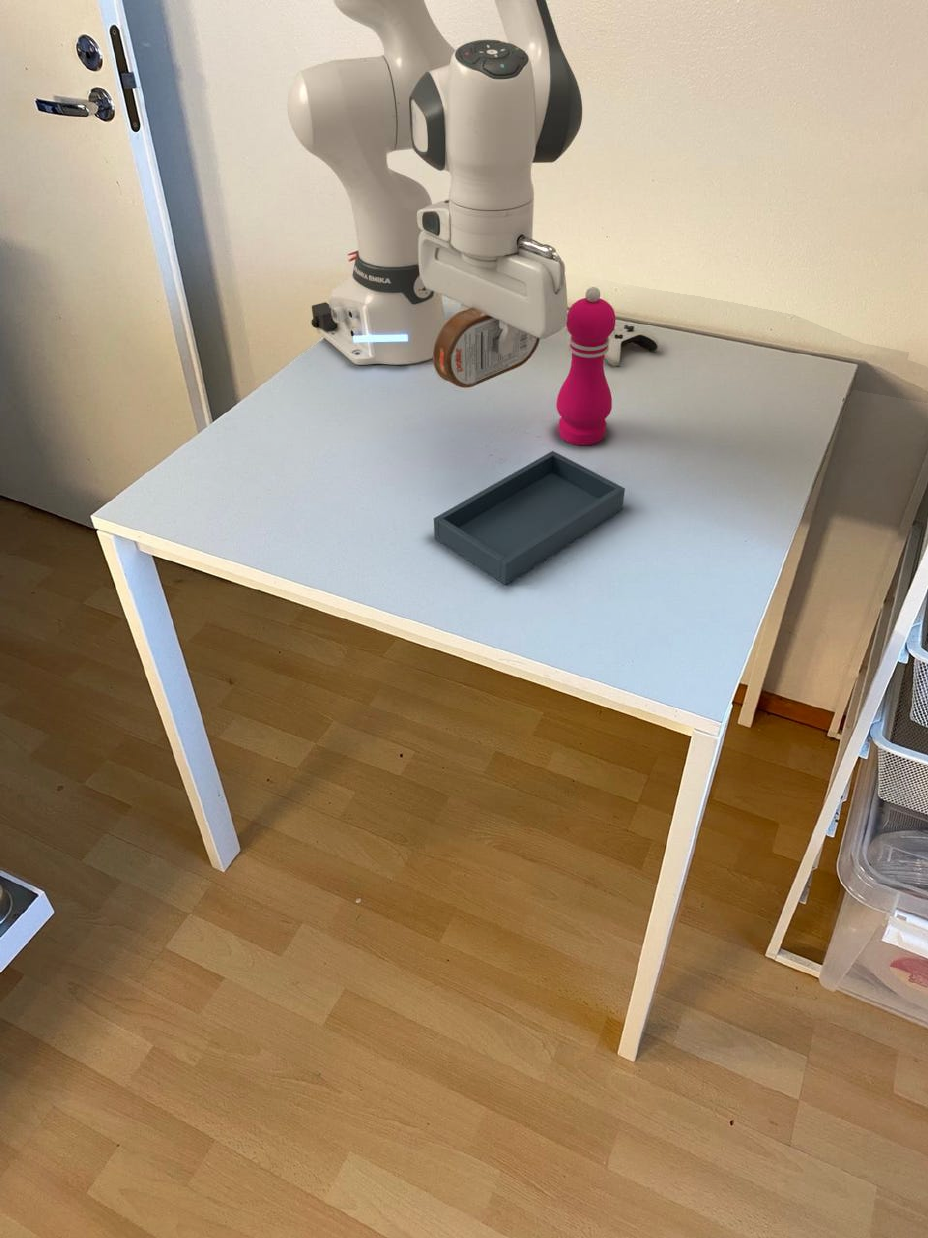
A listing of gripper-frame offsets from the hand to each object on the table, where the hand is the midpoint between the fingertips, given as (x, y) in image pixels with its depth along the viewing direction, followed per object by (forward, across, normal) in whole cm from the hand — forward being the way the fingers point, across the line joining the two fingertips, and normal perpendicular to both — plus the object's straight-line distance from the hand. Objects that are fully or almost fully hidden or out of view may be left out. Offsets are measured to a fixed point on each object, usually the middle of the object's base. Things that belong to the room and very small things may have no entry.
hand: (490, 346), depth 106 cm
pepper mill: (+17, -3, -14) cm, 22 cm away
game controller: (+17, +8, -36) cm, 41 cm away
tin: (+4, 0, 0) cm, 4 cm away
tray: (+16, -12, +5) cm, 21 cm away
